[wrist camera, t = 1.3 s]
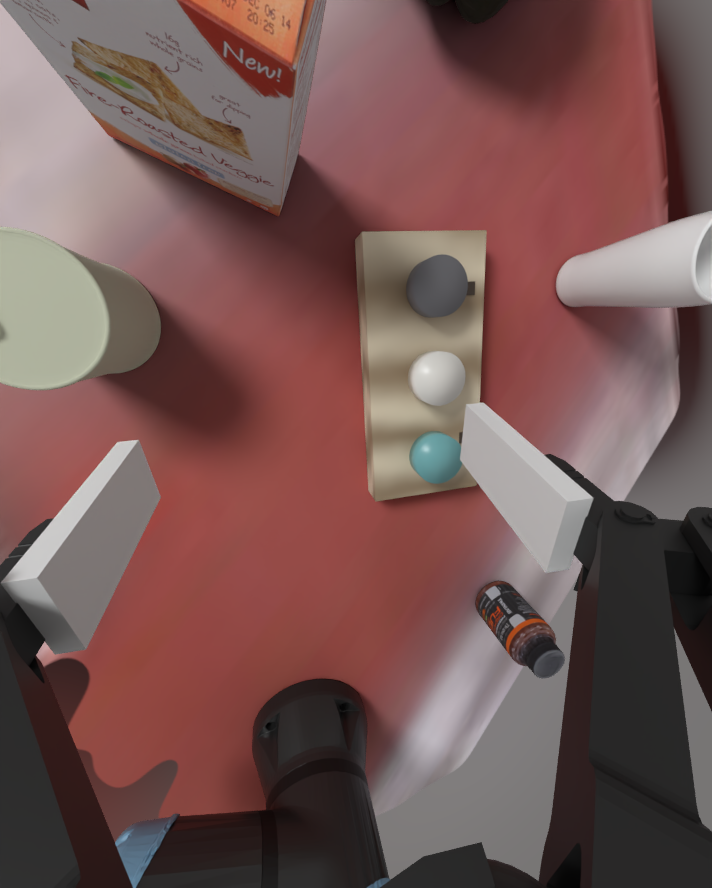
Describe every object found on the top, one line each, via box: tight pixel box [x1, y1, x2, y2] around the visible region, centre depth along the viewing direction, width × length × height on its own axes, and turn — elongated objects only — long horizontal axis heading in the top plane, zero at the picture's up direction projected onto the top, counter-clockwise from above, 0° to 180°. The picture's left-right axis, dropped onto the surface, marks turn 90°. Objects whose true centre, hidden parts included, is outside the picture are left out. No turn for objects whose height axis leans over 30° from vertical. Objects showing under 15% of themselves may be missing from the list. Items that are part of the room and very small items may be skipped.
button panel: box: [355, 230, 486, 501], centre depth 39 cm, size 26×12×3 cm, turn 4°
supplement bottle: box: [476, 581, 565, 678], centre depth 47 cm, size 6×6×11 cm
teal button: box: [409, 431, 462, 484], centre depth 38 cm, size 5×5×2 cm
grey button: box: [406, 254, 468, 318], centre depth 33 cm, size 5×5×2 cm
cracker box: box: [0, 0, 326, 216], centre depth 21 cm, size 14×6×21 cm, turn 69°
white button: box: [408, 351, 465, 406], centre depth 35 cm, size 5×5×2 cm
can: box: [0, 227, 161, 390], centre depth 27 cm, size 9×9×12 cm
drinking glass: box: [556, 211, 712, 308], centre depth 34 cm, size 7×7×15 cm
